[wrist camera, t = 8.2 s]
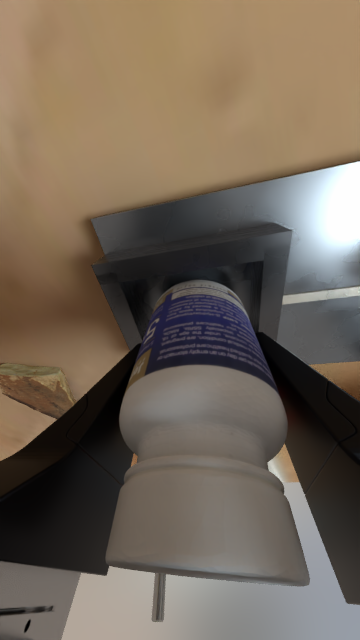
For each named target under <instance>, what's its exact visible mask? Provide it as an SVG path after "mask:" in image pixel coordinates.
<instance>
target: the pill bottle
mask: <svg viewBox="0 0 360 640" xmlns="http://www.w3.org/2000/svg"><path fill="white" fill-rule="evenodd" d="M119 425H120V430H121V433H122V436H123V439H124V441H125V443H126V444H127V446H128V447H129V448H130V450H131V451H133V452H134V453H135V454H136V455H137V456H138V459H137V464H135V465H133V466H132V467H130V468H129V469H128V470H127V472H126V473H125V476H124V485H123V486H122V487H121V489H120V492H119V497H118V502H117V506H116V511H115V515H114V520H113V524H112V529H111V533H110V538H109V542H108V547H107V551H106V563H107V564H108V565H110V566H113V567H118V568H124V569H131V570H138V571H146V572H153V573H161V574H171V575H178V576H187V577H196V578H206V579H217V580H227V581H237V582H250V583H259V584H269V585H283V586H306V585H309V582H310V578H309V573H308V569H307V565H306V562H305V558H304V554H303V550H302V547H301V543H300V539H299V536H298V532H297V529H296V525H295V522H294V518H293V515H292V511H291V508H290V504H289V502H288V500H287V498H286V497H285V496H284V486H283V484H282V482H281V481H280V480H279V479H278V478H277V477H276V476H275V475H274V474H272V473H271V472H269V470H268V465H267V462H268V461H270V460H271V459H273V458H274V457H275V456H276V455H277V454H278V453H279V451H280V450H281V448H282V447H283V445H284V442H285V440H286V437H287V431H288V420H287V415H286V412H285V408H284V406H283V403H282V400H281V397H280V394H279V392H278V389H277V387H276V384H275V382H274V379H273V377H272V374H271V372H270V369H269V367H268V365H267V362H266V360H265V357H264V355H263V352H262V350H261V347H260V345H259V342H258V340H257V338H256V335H255V333H254V330H253V328H252V325H251V323H250V320H249V318H248V315H247V313H246V310H245V308H244V306H243V304H242V302H241V301H240V299H239V298H238V296H237V295H236V294H235V293H234V292H233V291H232V290H230V289H229V288H227V287H226V286H224V285H222V284H219V283H217V282H213V281H208V280H190V281H185V282H182V283H179V284H177V285H175V286H173V287H171V288H170V289H168V290H167V291H166V292H165V293H164V294H162V296H161V297H160V298H159V299H158V301H157V303H156V305H155V307H154V310H153V312H152V315H151V318H150V321H149V324H148V327H147V330H146V333H145V336H144V338H143V341H142V344H141V347H140V350H139V353H138V356H137V359H136V362H135V365H134V368H133V371H132V374H131V377H130V380H129V383H128V386H127V388H126V391H125V394H124V398H123V401H122V405H121V409H120V415H119Z"/></svg>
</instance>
